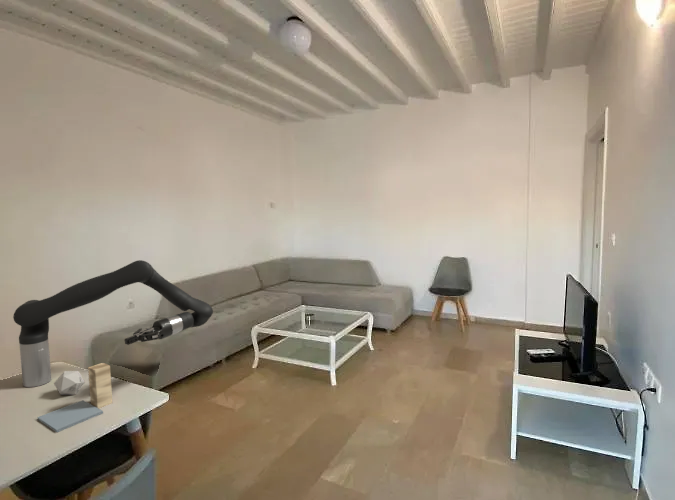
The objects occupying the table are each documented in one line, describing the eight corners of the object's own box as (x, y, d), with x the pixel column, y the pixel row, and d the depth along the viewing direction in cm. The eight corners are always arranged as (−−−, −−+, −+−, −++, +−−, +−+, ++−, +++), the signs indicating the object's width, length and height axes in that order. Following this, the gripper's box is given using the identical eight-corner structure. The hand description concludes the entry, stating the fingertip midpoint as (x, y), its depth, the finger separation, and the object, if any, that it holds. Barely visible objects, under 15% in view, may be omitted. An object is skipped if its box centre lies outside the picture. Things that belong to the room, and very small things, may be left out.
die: (62, 402, 145) (80, 378, 147) (43, 389, 146) (62, 365, 148) (76, 400, 153) (94, 376, 155) (59, 387, 154) (76, 364, 157)
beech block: (90, 405, 142) (88, 367, 140) (105, 399, 146) (103, 362, 145) (97, 408, 139) (95, 370, 138) (112, 402, 143) (110, 365, 142)
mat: (37, 419, 132) (37, 417, 132) (83, 402, 144) (82, 400, 144) (56, 432, 125) (56, 430, 124) (103, 413, 136) (102, 410, 136)
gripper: (157, 315, 165) (115, 330, 151) (176, 319, 158) (133, 335, 144) (160, 333, 166) (118, 348, 152) (179, 337, 159) (136, 354, 145)
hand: (125, 342), depth 148 cm, fingers closed
